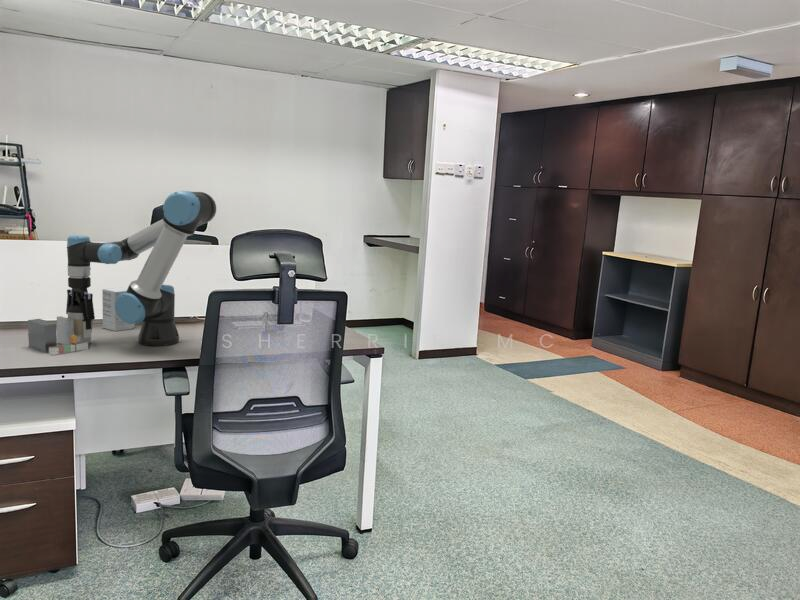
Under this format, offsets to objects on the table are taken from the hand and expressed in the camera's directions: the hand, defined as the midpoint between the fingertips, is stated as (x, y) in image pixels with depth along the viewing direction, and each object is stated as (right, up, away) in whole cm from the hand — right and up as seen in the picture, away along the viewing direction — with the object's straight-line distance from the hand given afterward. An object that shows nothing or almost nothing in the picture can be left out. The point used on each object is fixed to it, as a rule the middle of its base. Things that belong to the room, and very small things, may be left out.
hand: (80, 335), depth 233 cm
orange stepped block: (+4, -2, -11) cm, 12 cm away
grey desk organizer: (-4, -4, -9) cm, 10 cm away
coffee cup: (0, -3, +1) cm, 3 cm away
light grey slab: (-1, -3, -6) cm, 7 cm away
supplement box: (+2, +1, +28) cm, 28 cm away
